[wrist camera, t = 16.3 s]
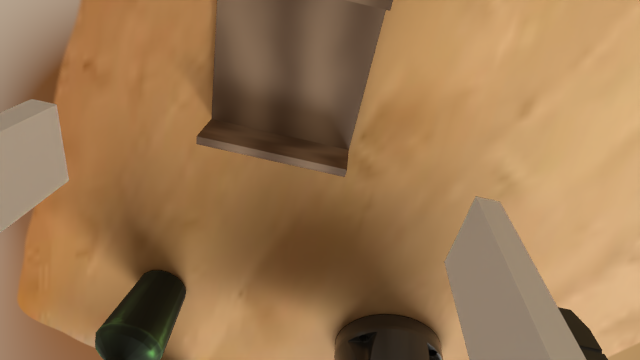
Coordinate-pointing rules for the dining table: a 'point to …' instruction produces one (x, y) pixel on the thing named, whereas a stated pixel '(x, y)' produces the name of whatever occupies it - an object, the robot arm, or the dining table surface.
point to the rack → (291, 78)
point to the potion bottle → (142, 319)
